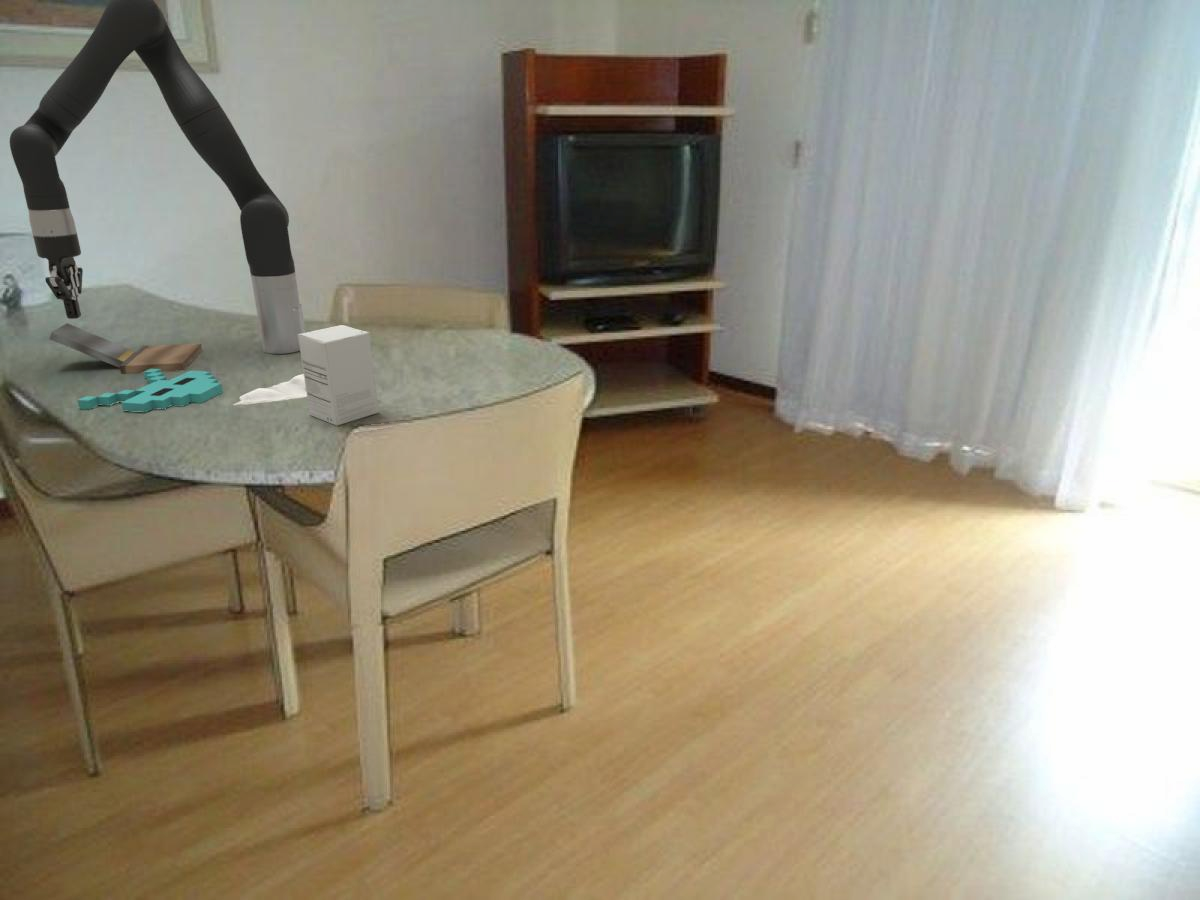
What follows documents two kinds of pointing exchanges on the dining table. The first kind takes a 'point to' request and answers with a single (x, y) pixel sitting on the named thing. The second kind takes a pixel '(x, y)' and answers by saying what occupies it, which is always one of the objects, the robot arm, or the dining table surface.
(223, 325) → the dining table surface
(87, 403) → the alien figure
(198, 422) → the dining table surface
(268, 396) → the cloth
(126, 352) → the grey flat plate
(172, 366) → the laid floor board
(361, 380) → the supplement box
